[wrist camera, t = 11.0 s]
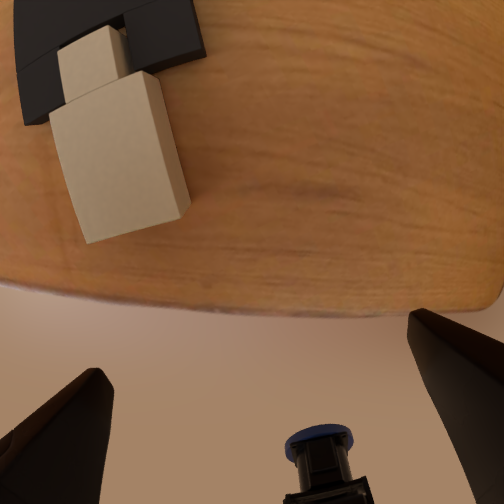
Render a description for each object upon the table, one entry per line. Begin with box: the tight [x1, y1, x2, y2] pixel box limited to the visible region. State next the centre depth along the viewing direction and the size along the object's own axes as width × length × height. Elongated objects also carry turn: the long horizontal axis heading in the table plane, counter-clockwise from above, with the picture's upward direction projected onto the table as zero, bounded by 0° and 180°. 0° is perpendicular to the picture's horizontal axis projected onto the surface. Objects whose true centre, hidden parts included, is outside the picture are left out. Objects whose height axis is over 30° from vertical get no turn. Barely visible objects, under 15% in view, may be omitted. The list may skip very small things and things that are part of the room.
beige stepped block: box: [49, 25, 191, 244], centre depth 15 cm, size 12×6×3 cm, turn 13°
